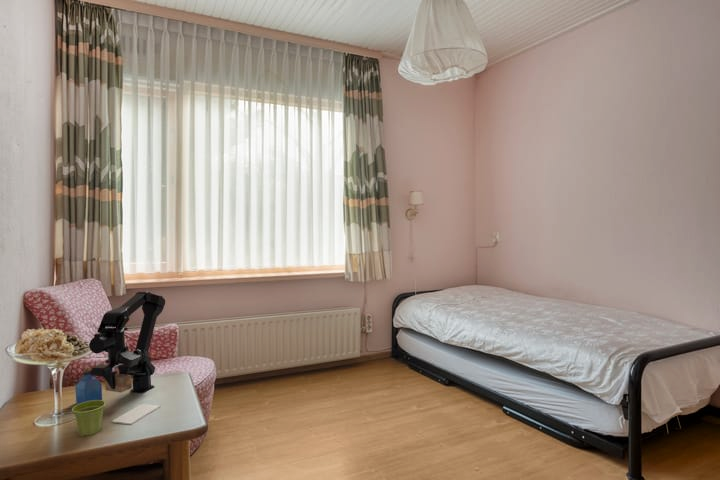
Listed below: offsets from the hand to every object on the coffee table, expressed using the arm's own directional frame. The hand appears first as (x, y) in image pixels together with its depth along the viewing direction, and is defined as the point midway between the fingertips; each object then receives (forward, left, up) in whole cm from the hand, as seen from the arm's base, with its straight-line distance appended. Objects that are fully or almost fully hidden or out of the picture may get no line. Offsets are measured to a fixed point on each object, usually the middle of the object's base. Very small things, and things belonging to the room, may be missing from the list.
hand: (118, 386), depth 163 cm
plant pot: (+20, +7, -7) cm, 22 cm away
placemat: (+6, +13, -7) cm, 16 cm away
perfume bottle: (0, -14, -7) cm, 16 cm away
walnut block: (0, 0, -1) cm, 1 cm away
